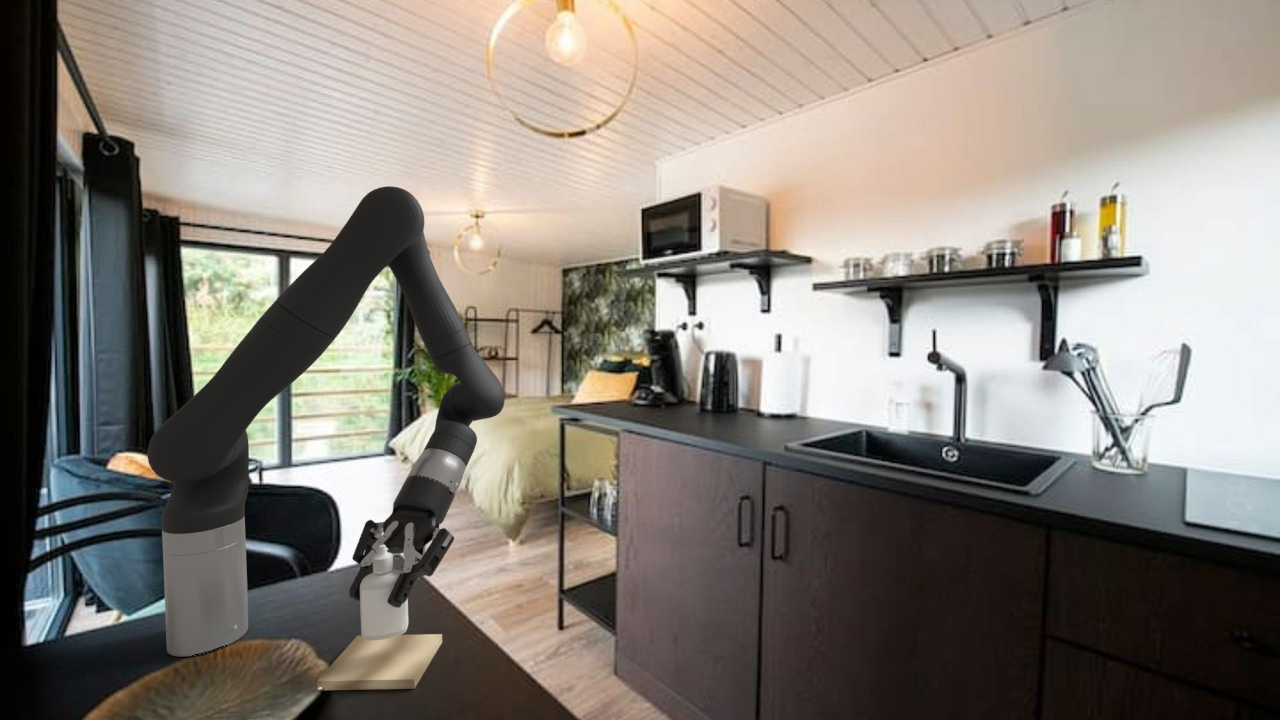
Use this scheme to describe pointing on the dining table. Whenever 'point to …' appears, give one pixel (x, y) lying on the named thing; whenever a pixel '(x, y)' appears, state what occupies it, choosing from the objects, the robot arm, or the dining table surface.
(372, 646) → the oak board
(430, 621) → the dining table surface
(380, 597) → the eye dropper bottle
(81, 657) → the dining table surface
